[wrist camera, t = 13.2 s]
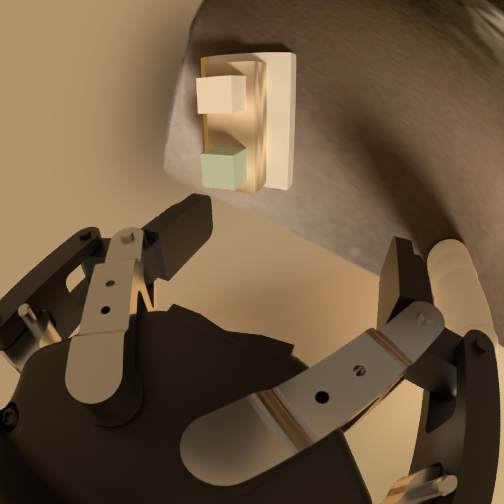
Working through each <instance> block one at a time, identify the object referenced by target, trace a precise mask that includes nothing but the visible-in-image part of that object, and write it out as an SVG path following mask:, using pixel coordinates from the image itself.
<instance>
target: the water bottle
mask: <svg viewBox="0 0 504 504" xmlns="http://www.w3.org/2000/svg"><path fill="white" fill-rule="evenodd" d="M427 267H428V272H429V275H430V278H431V287H432V292H433V295H434V298H435V307H437V308H438V309H439V310H440V312H441V313H442V315H443V317H444V320H445V327H446V328H447V329H449V330H451V331H453V332H454V333H456V334H458V335H460V336H462V337H464V336H465V334H466V333H467V332H468V331H469V330H472V329H476V330H480V331H482V332H483V333H485V334H486V335H487V336H488V337H489V338H490V339H491V341H492V343H493V345H494V348H495V354H496V357H497V353H498V338H497V335H496V333H495V331H494V328H493V322H492V318H491V313H490V310H489V306H488V303H487V300H486V297H485V294H484V292H483V289H482V287H481V285H480V282H479V280H478V276H477V272H476V270H475V267H474V265H473V263H472V262H471V258H470V255H469V252H468V250H467V248H466V247H465V245H464V244H463V243H461V242H460V241H458V240H455V239H446V240H443V241H441V242H439V243H437V244H436V245H435V246H434V247H433V248H432V249H431V251H430V253H429V255H428V258H427Z"/></svg>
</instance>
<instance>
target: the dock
mask: <svg viewBox="0 0 504 504" xmlns="http://www.w3.org/2000/svg"><path fill="white" fill-rule="evenodd" d="M241 61H257V62H262V63H267V152H266V184H265V185H264V186H263V187H270V188H276V189H282V190H288V188H289V187H290V186H291V185H292V174H293V154H294V130H295V97H296V55H295V54H293V53H291V52H263V53H242V54H229V55H219V56H210V57H202V58H201V78H204V77H205V65H207V64H216V63H227V62H241ZM203 124H204V141H205V151H207V150H209V142H208V125H207V113H206V114H203Z"/></svg>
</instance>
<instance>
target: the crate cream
mask: <svg viewBox="0 0 504 504" xmlns="http://www.w3.org/2000/svg"><path fill="white" fill-rule="evenodd" d="M196 84H197V104H198V114H206V113H235V112H239V111H244V110H246V76H235V75H229V76H215V77H204V78H196Z"/></svg>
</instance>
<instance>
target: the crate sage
mask: <svg viewBox="0 0 504 504" xmlns="http://www.w3.org/2000/svg"><path fill="white" fill-rule="evenodd" d="M200 155H201V167H202V179H203V187H208V188H216V189H224V190H232V191H235V190H236V189H237V188H239V187H240V186H241V185H242V184H243V183H245V182H246V181H247V148H234V147H214V148H212V149H209V150H207V151H205V152H203V153H201V154H200Z"/></svg>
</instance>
